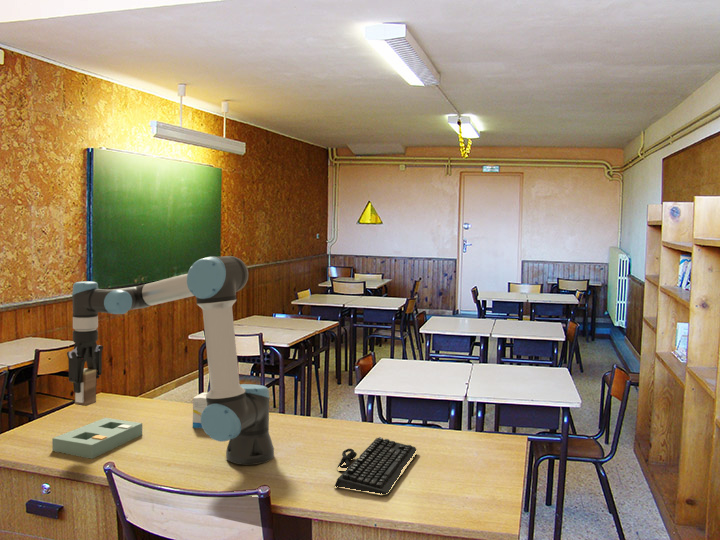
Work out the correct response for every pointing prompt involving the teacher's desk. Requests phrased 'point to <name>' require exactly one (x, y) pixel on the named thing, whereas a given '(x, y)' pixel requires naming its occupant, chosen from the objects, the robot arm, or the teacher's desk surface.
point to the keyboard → (375, 466)
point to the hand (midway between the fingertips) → (85, 399)
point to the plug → (89, 387)
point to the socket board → (94, 445)
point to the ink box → (198, 409)
